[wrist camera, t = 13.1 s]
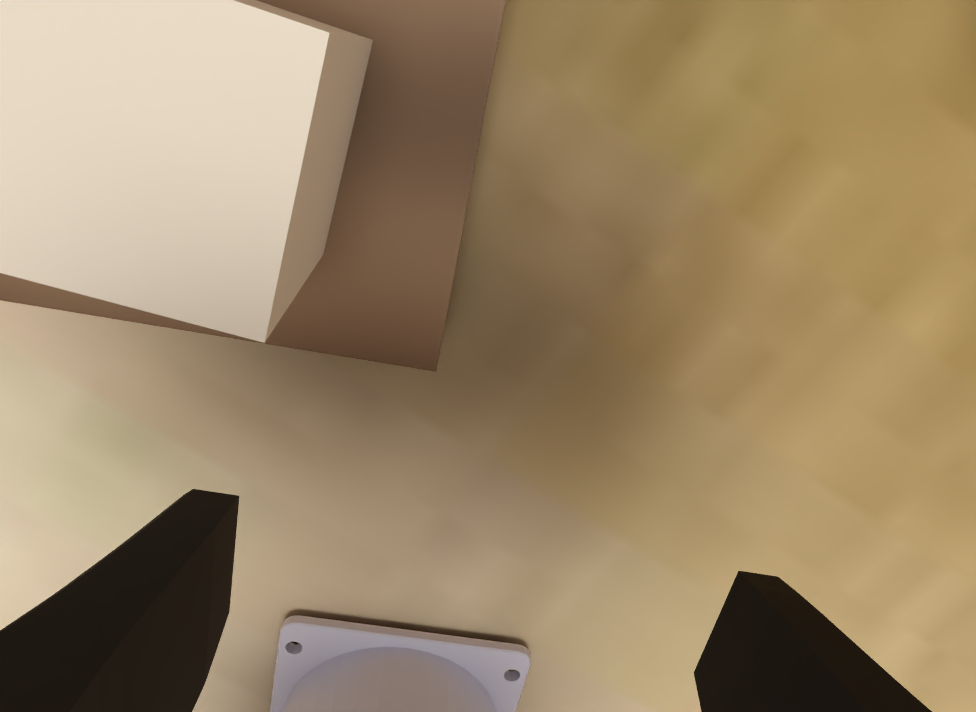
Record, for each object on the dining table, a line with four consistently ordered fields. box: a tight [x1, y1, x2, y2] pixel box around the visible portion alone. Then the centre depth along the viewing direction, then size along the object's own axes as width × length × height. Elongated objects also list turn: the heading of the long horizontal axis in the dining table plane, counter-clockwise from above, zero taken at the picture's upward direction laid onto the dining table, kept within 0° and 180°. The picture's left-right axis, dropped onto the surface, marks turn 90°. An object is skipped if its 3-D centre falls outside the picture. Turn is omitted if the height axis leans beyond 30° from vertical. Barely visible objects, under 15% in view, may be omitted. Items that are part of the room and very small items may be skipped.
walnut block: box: [0, 0, 506, 371], centre depth 15 cm, size 10×10×3 cm
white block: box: [0, 0, 373, 343], centre depth 12 cm, size 4×4×5 cm
